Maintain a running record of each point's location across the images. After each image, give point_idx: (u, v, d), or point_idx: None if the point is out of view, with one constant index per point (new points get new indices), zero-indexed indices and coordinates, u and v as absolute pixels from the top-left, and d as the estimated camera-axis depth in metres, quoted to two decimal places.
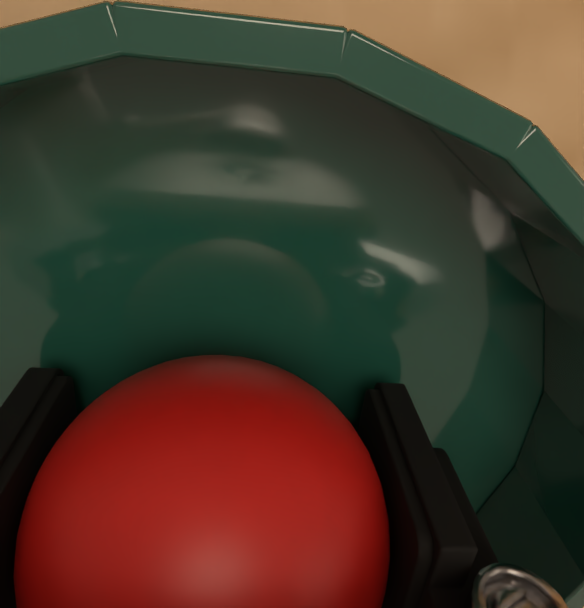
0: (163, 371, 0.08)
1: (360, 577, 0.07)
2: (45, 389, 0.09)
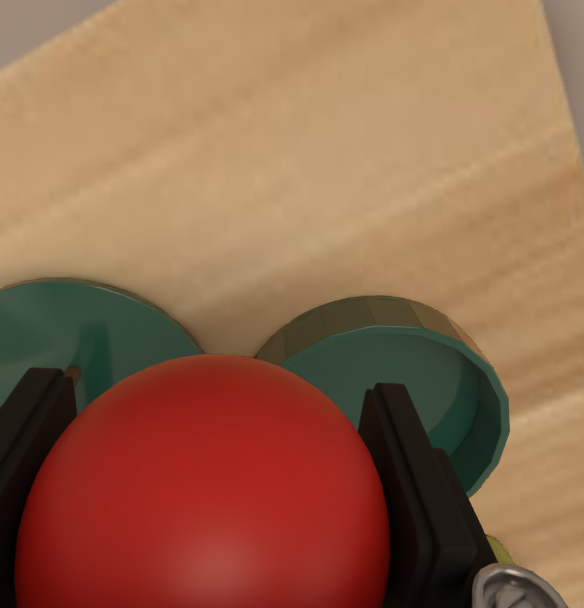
0: (164, 371, 0.08)
1: (360, 576, 0.07)
2: (45, 389, 0.09)
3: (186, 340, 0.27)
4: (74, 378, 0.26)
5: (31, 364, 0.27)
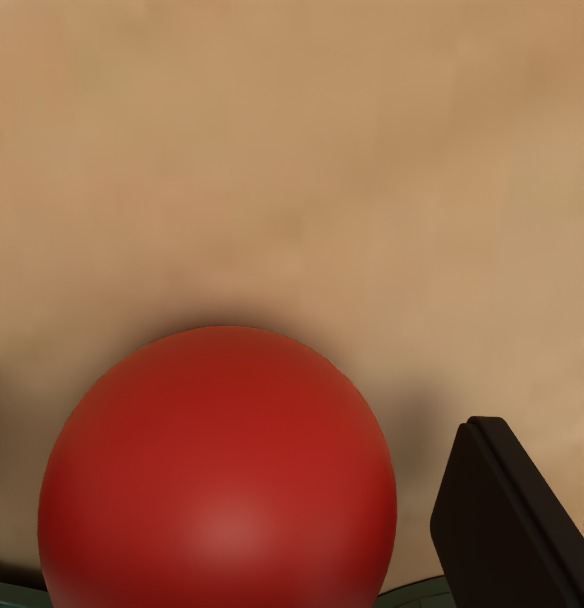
0: (178, 338, 0.08)
1: (368, 530, 0.07)
2: None
3: None
4: None
5: None
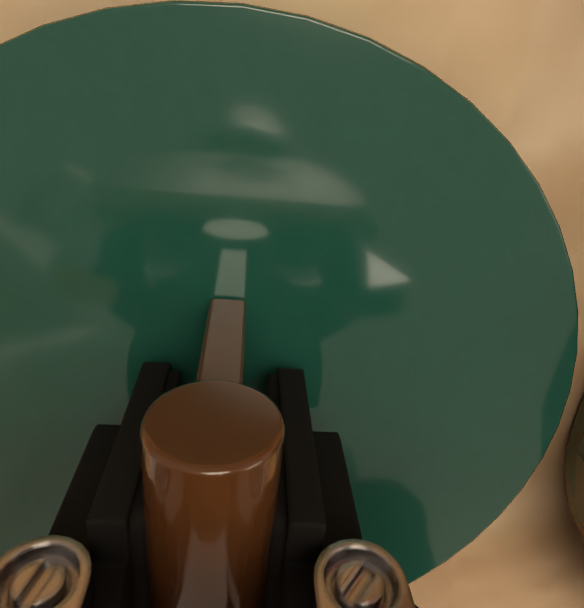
0: None
1: None
2: (164, 382, 0.09)
3: (549, 226, 0.10)
4: (244, 328, 0.09)
5: (112, 290, 0.10)
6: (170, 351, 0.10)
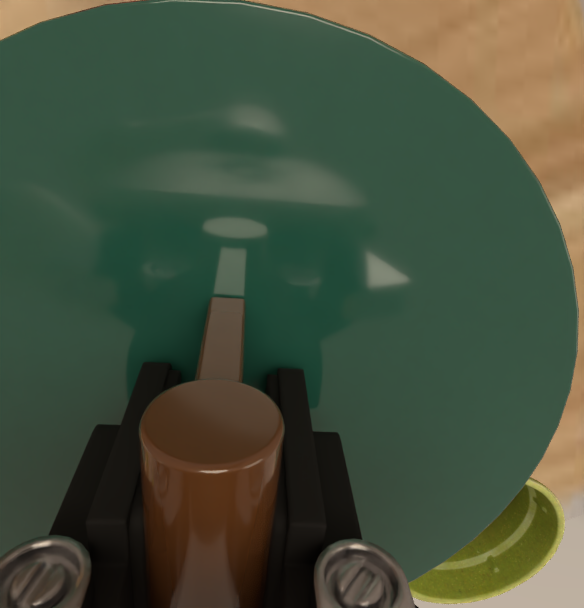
0: None
1: None
2: (164, 382, 0.09)
3: (549, 224, 0.10)
4: (244, 326, 0.09)
5: (111, 289, 0.10)
6: (169, 350, 0.10)
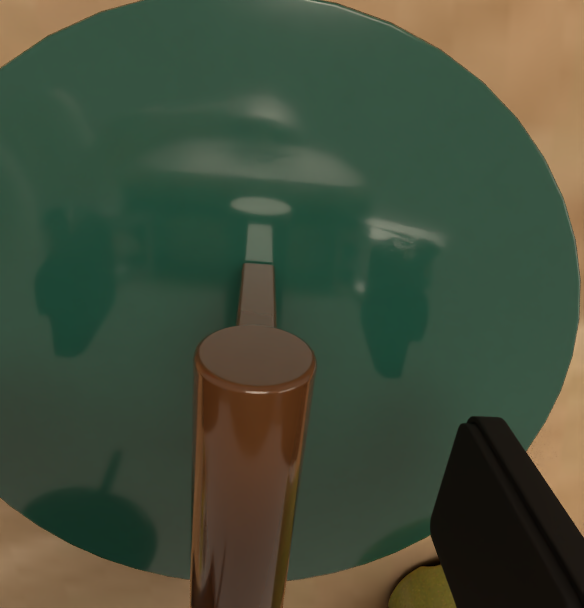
0: None
1: None
2: None
3: (553, 198, 0.10)
4: (274, 287, 0.10)
5: (154, 254, 0.11)
6: (204, 312, 0.11)
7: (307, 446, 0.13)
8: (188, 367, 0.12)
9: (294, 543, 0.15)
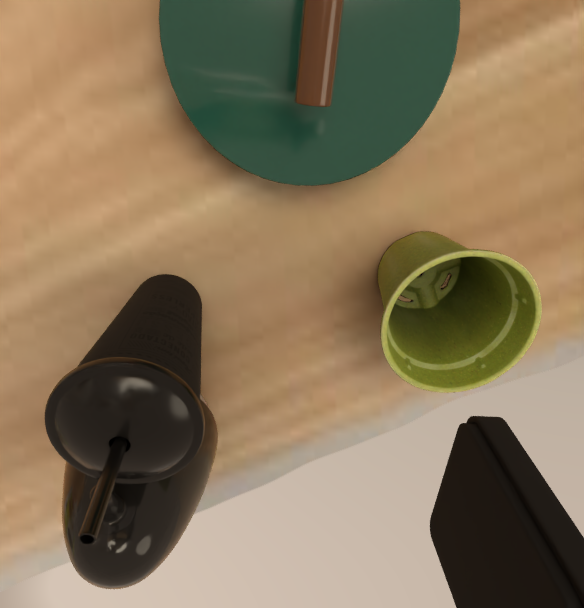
0: None
1: None
2: None
3: None
4: None
5: None
6: None
7: (336, 84, 0.28)
8: (284, 31, 0.26)
9: (328, 154, 0.29)
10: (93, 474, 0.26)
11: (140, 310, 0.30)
